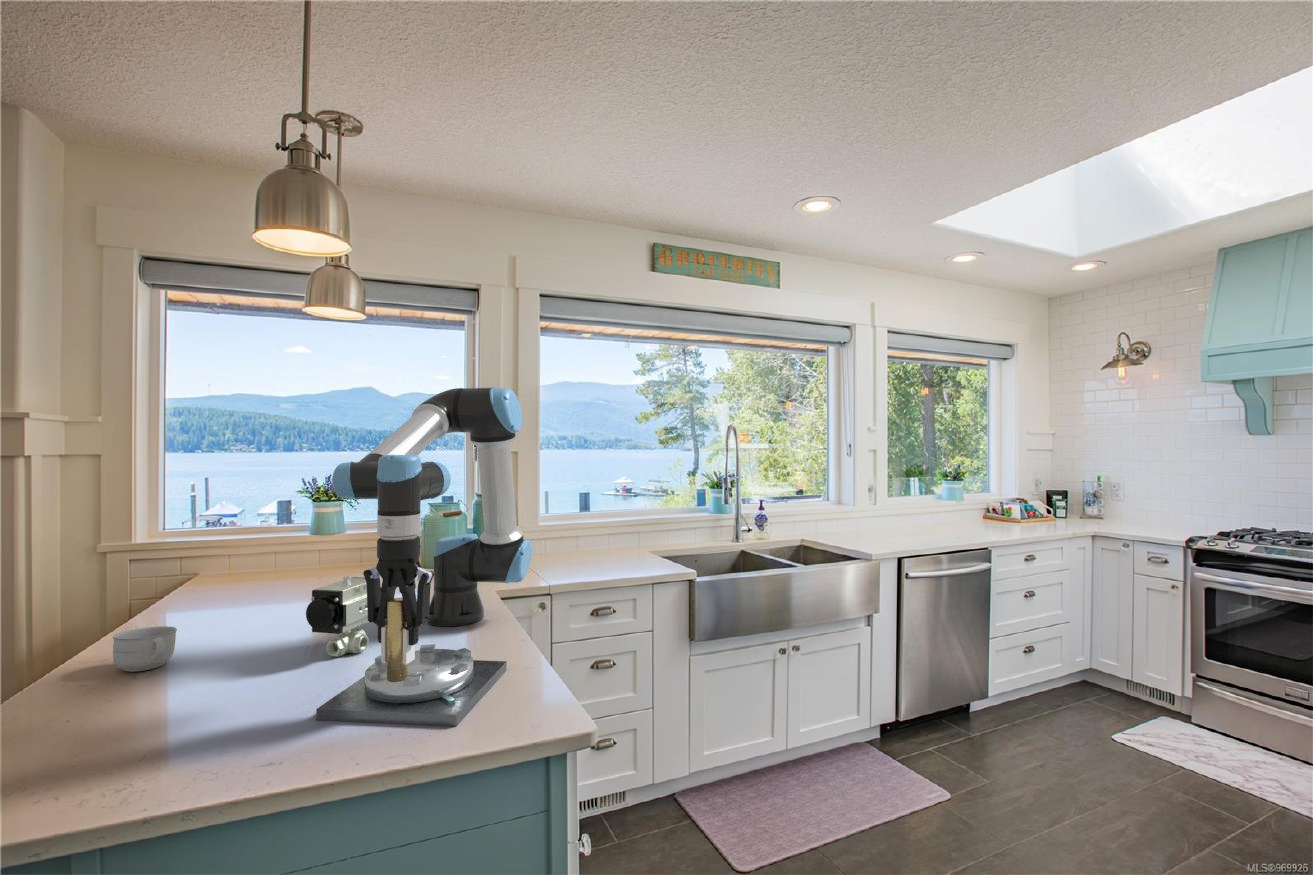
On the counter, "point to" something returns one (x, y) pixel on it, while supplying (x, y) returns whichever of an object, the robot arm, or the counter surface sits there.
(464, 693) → the base plate
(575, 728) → the counter surface
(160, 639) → the teacup
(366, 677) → the silver tabbed disc
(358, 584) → the ball valve
